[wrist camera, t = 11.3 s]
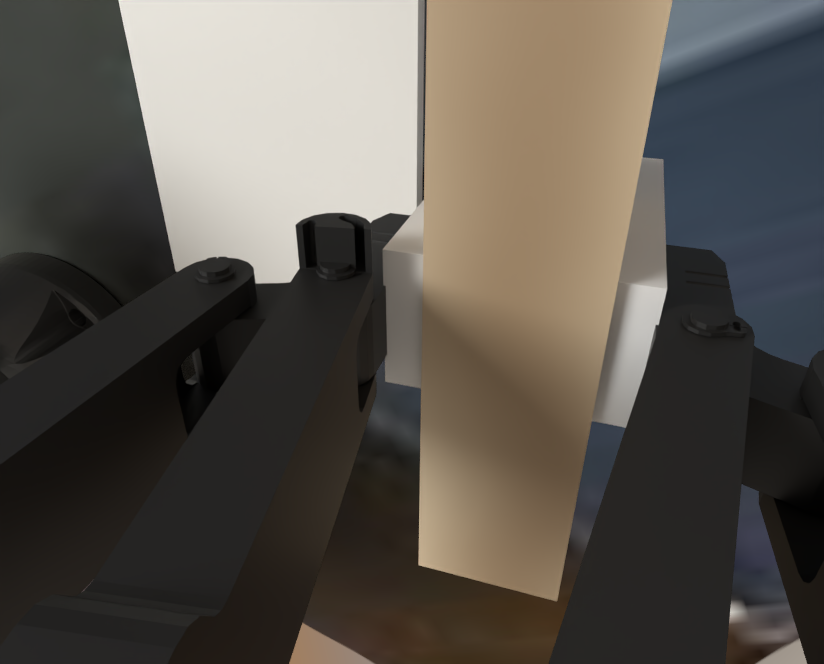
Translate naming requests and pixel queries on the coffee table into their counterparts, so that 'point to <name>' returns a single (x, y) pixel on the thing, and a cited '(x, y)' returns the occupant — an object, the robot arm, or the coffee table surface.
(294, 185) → the rest board
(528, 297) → the beige piece
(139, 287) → the coffee table surface
